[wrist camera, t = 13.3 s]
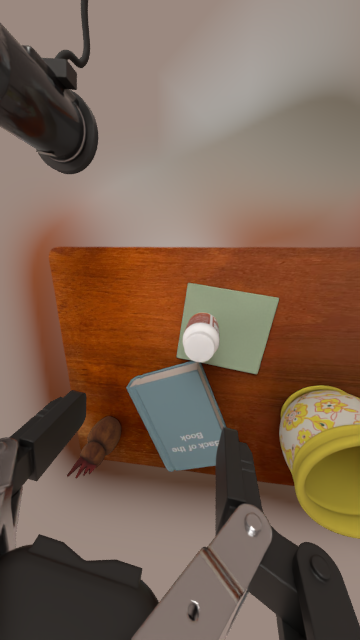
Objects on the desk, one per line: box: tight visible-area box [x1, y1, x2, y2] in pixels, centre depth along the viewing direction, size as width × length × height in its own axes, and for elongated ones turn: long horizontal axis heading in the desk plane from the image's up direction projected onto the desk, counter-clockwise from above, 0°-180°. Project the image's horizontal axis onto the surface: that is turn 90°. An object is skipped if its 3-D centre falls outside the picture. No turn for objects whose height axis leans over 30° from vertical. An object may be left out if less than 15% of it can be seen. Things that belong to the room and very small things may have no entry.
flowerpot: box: [279, 385, 360, 539], centre depth 37 cm, size 18×18×16 cm
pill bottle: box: [183, 312, 220, 362], centre depth 38 cm, size 6×6×11 cm
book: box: [126, 361, 227, 472], centre depth 47 cm, size 23×16×5 cm
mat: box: [177, 283, 279, 374], centre depth 43 cm, size 16×17×1 cm
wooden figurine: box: [67, 416, 121, 478], centre depth 47 cm, size 7×6×15 cm
